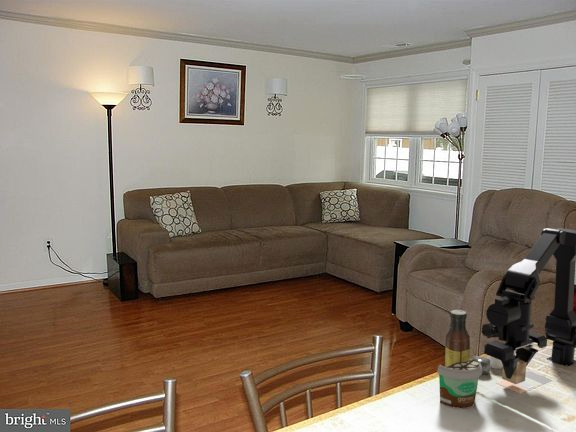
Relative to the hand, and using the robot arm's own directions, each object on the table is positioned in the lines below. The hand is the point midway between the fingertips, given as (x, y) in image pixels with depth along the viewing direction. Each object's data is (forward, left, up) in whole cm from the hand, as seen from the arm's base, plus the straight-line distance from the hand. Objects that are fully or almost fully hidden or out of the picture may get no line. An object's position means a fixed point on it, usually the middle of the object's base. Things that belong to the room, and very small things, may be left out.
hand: (513, 376), depth 137 cm
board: (-5, 0, -3) cm, 6 cm away
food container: (+18, -1, -4) cm, 18 cm away
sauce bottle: (+11, -9, -4) cm, 15 cm away
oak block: (0, 0, -1) cm, 1 cm away
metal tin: (0, -10, -4) cm, 11 cm away
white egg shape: (-7, -10, -3) cm, 13 cm away
